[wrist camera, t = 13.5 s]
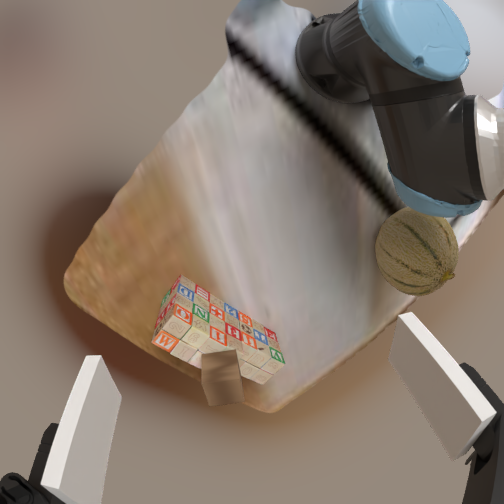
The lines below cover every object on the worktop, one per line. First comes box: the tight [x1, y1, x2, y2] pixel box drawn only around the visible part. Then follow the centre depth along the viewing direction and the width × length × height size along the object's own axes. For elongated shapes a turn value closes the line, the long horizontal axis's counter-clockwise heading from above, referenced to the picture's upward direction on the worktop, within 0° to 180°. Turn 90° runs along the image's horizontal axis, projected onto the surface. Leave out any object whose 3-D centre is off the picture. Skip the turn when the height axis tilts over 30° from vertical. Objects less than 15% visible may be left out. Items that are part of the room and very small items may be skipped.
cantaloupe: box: [375, 207, 459, 296], centre depth 46 cm, size 15×15×15 cm
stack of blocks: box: [152, 275, 285, 385], centre depth 49 cm, size 21×6×12 cm, turn 51°
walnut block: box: [201, 349, 245, 406], centre depth 41 cm, size 5×5×6 cm
